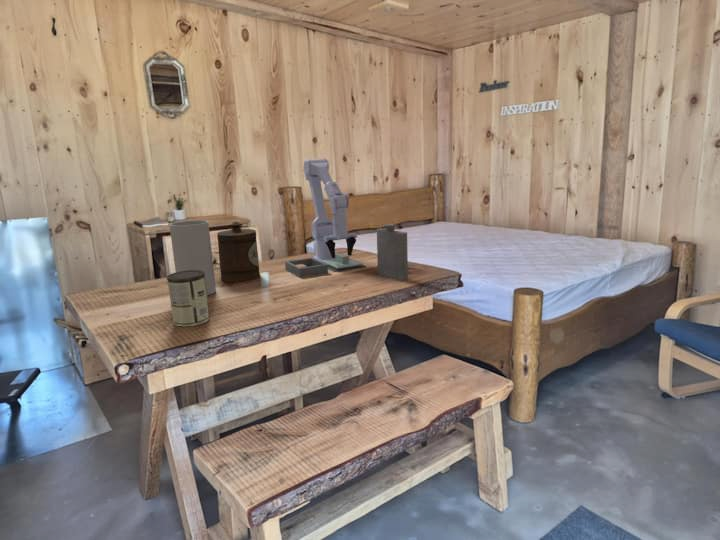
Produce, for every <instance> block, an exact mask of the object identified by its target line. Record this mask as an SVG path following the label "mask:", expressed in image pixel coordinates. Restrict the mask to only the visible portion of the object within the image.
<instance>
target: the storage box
mask: <svg viewBox="0 0 720 540" xmlns="http://www.w3.org/2000/svg"><path fill="white" fill-rule="evenodd" d="M284 266H285V270H286V271H287V272H289V273H291V274H292V273H293V275H294V274H295V275H294V276H296V277H298V278H300V277H301V278H306V276H307V277H311V276H312V275H314V276H319V275H318V274H320V275H324V273H326V274H329V269H328V264H326V263H323V262H321V261H319V260H317V259H315V258H312V257H308V258H306V257H305V258H299V259H294V260H287V261H284ZM312 277H313V276H312Z"/></svg>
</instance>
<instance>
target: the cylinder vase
mask: <svg viewBox="0 0 720 540" xmlns="http://www.w3.org/2000/svg"><path fill="white" fill-rule="evenodd" d="M209 226H210V225H209V221H208V220H203V219H201V220H200V219H199V220H198V219H197V220H196V219H194V220H183V221H175V222H172V223H169V232H170V233H169V234H170V240H171V248H172V254H173V255H172V256H173V263H174V269H175V273H176V272H181V271H188V270H200V271H203V272H205V275H204V276H205V284H206V293H207V297H208V295H209V296H211V295H213V294H214V293H216V292H217V291H216V290H217V288H216V278H215V269H214V261H213V260H214V259H213V251H212V243H211V235H210V227H209Z"/></svg>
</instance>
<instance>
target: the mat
mask: <svg viewBox="0 0 720 540" xmlns="http://www.w3.org/2000/svg"><path fill="white" fill-rule="evenodd" d="M366 267H367V266H366V265H364V264H363V265H359V266H354V267H348V268H341V269H336V268H333V267H331V266H329V265H328V270H330V271H332V272H334V273H337V272H343V271H349V270H355V269H361V268H366Z"/></svg>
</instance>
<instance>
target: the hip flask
mask: <svg viewBox="0 0 720 540" xmlns="http://www.w3.org/2000/svg"><path fill="white" fill-rule="evenodd" d="M395 226H396V225H395V223H387V224H386V223H385V224H384V227H385V228H381V227H380V228H376V250H377V253H376V254H377V255H376V256H377V274H378V275H379V276H381V275H382V276H381V277H384V276H385V277H384V278H387V277H388V279H390V278H391V280H394V279H395V281H399V280H400V281H401V282H407V281H408V280H409V276H408V275H409V271H408V269H409V266H408V265H409V264H408V261H409V259H408V258H409V257H408V232H406V231H397V230H395ZM406 280H407V281H406Z"/></svg>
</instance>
